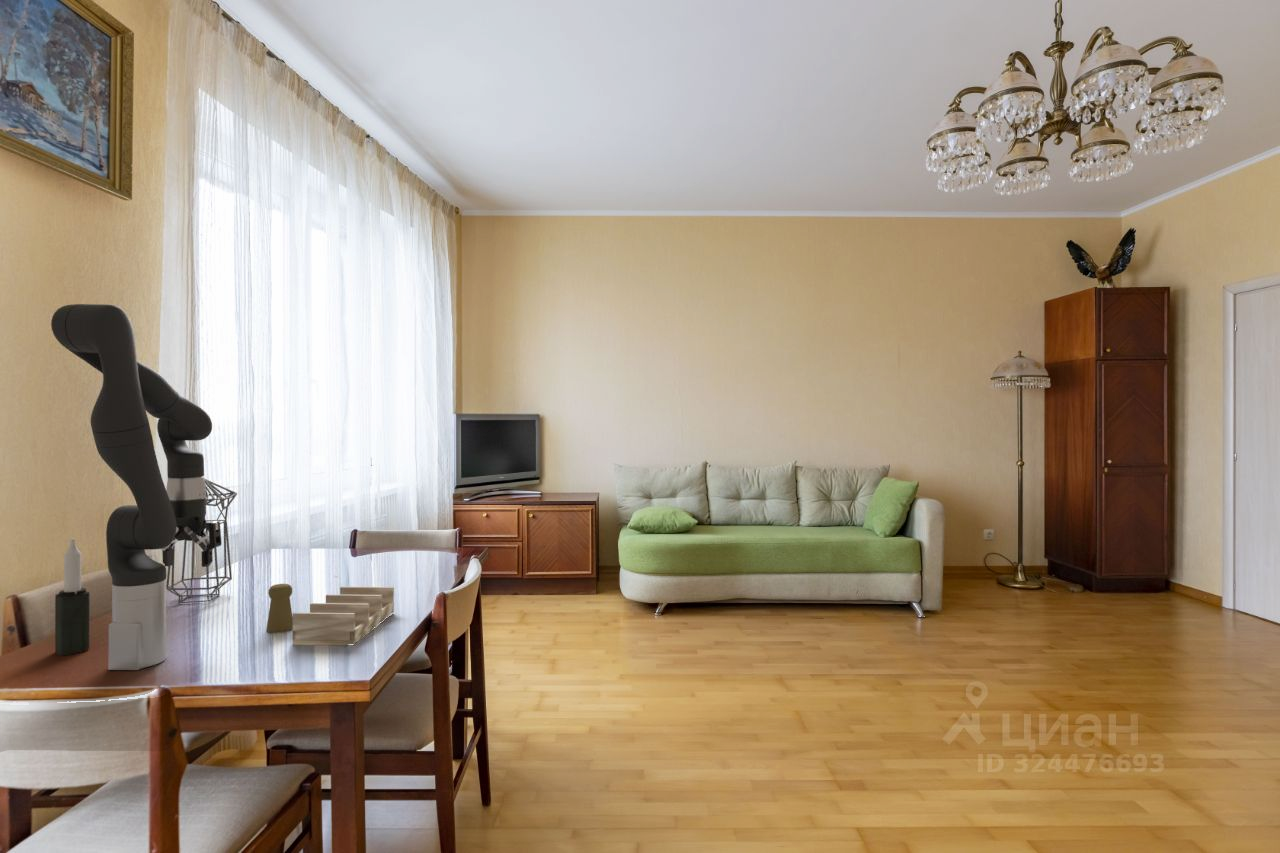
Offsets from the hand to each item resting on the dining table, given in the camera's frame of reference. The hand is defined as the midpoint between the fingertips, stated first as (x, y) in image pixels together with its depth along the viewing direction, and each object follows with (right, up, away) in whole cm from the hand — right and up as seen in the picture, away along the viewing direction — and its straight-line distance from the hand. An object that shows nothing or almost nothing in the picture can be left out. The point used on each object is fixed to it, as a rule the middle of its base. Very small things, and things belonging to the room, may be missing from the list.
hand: (187, 565), depth 157 cm
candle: (-21, -18, -7) cm, 28 cm away
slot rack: (+32, -18, +11) cm, 38 cm away
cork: (+16, -18, +10) cm, 26 cm away
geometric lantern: (-21, -17, +36) cm, 45 cm away
